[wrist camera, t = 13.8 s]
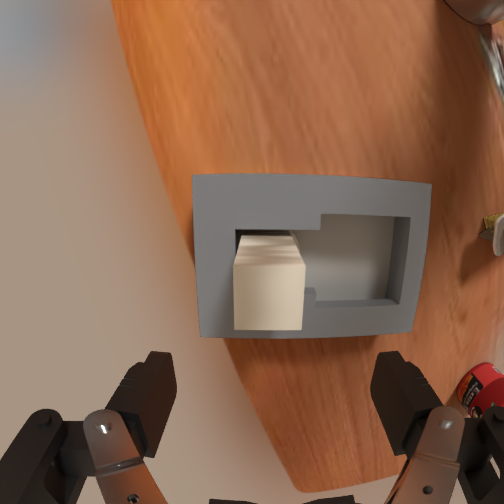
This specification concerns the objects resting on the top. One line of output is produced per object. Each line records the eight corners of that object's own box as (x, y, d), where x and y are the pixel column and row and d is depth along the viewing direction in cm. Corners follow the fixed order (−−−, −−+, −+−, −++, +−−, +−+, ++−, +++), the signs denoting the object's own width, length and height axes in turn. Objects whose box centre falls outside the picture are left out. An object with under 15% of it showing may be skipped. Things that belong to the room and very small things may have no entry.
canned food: (460, 369, 34) (498, 415, 23) (498, 354, 33) (536, 392, 23) (450, 406, 36) (480, 451, 25) (487, 390, 35) (518, 429, 25)
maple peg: (298, 216, 28) (324, 248, 17) (296, 278, 30) (316, 343, 18) (233, 216, 28) (214, 247, 17) (234, 278, 30) (218, 343, 18)
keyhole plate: (405, 180, 28) (431, 183, 23) (391, 308, 31) (411, 331, 26) (204, 174, 28) (192, 174, 23) (209, 310, 32) (200, 336, 27)
